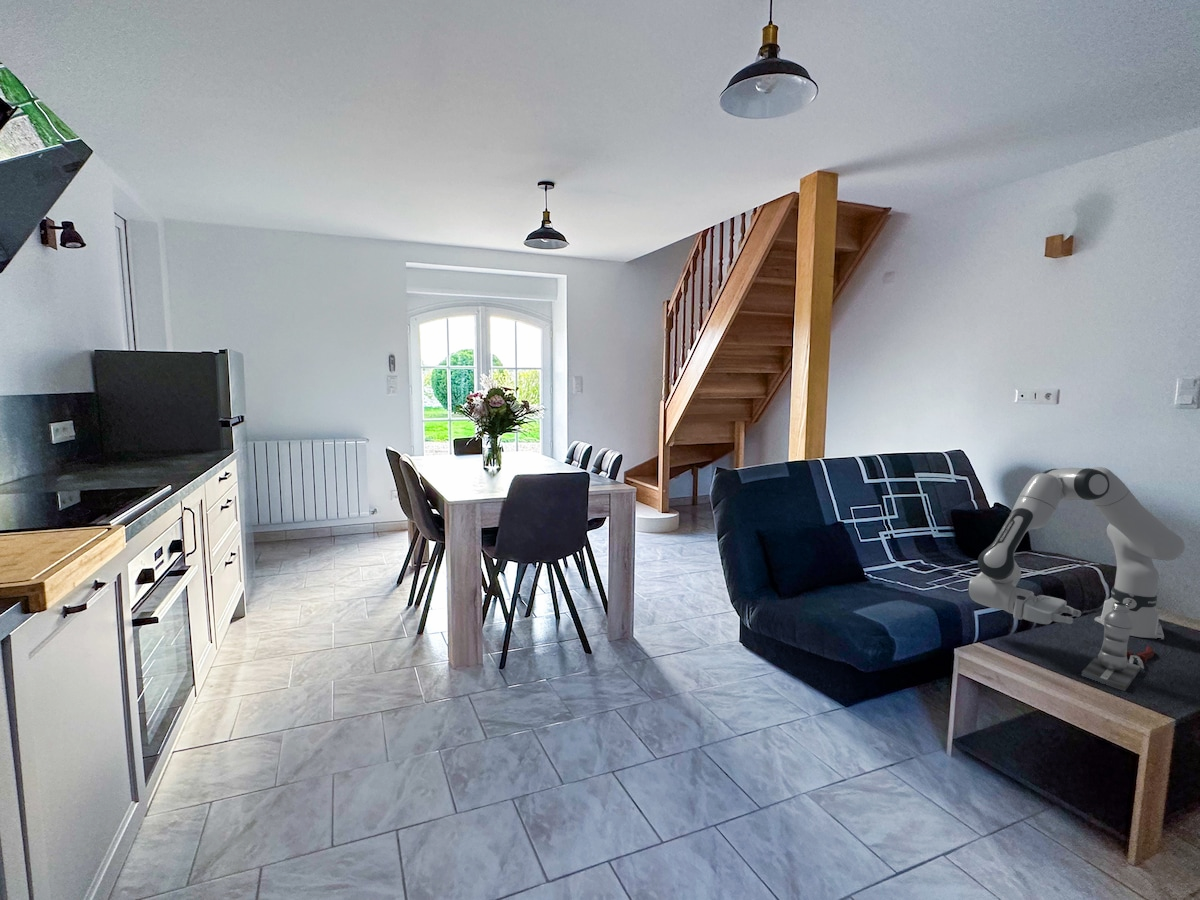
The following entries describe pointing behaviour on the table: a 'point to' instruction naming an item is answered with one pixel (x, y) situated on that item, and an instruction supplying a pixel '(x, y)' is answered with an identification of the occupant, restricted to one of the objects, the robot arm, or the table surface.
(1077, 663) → the table surface
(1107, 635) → the plastic bottle
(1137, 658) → the pliers
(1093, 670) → the subfloor board
